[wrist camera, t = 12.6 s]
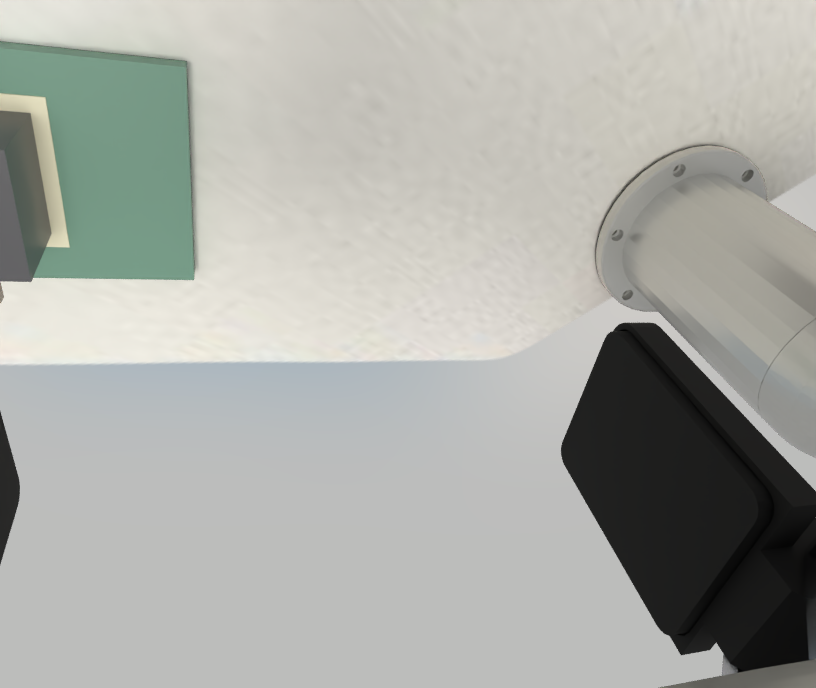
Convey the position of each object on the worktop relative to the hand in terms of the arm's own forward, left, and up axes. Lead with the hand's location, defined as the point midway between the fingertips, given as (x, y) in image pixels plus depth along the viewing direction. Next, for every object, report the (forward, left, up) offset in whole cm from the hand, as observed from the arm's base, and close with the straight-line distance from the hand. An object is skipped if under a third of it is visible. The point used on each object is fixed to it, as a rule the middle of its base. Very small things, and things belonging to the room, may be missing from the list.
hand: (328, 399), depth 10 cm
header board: (+13, +8, -28) cm, 32 cm away
